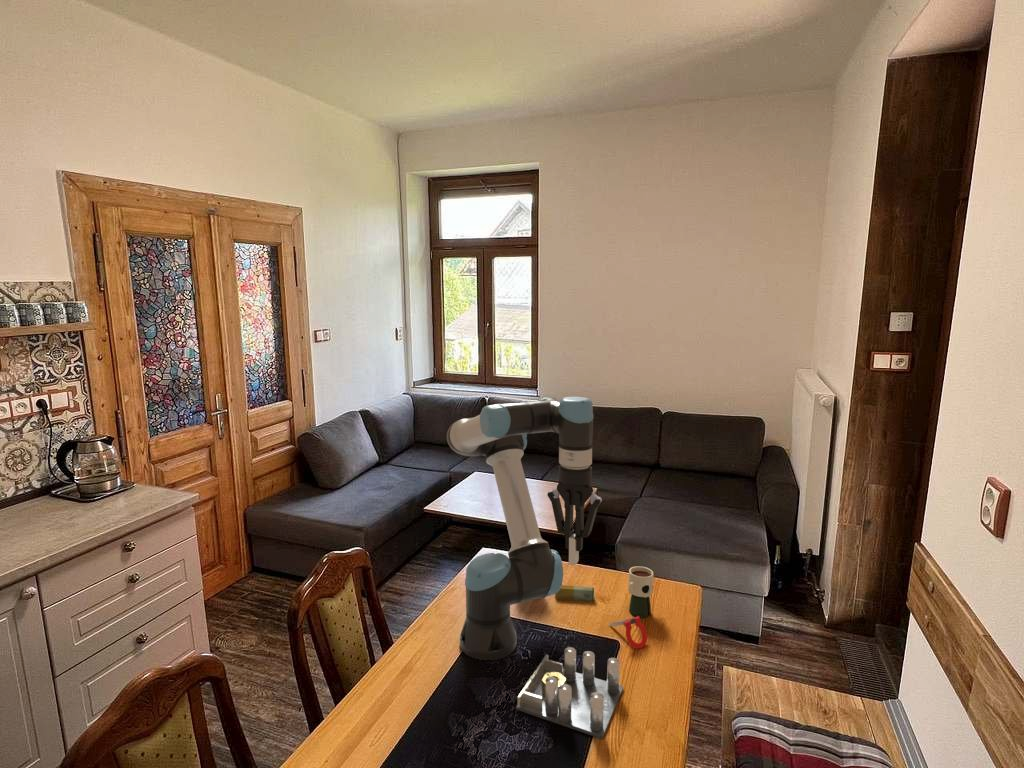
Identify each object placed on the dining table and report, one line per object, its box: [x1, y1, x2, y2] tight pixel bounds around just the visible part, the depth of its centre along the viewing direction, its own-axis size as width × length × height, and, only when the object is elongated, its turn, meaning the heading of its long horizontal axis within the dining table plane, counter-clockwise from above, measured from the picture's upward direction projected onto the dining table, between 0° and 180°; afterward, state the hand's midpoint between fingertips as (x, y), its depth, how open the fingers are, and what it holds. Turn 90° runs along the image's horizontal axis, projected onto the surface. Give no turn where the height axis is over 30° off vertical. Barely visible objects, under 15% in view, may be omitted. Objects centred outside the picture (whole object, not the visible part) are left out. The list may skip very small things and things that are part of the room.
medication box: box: [554, 584, 595, 603], centre depth 172 cm, size 12×3×4 cm, turn 83°
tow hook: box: [609, 616, 648, 649], centre depth 153 cm, size 7×10×7 cm
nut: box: [542, 672, 566, 698], centre depth 130 cm, size 5×6×3 cm
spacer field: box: [516, 646, 624, 740], centre depth 129 cm, size 20×17×8 cm
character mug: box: [628, 565, 654, 618], centre depth 164 cm, size 11×7×13 cm, turn 132°
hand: (573, 562), depth 131 cm, fingers closed
